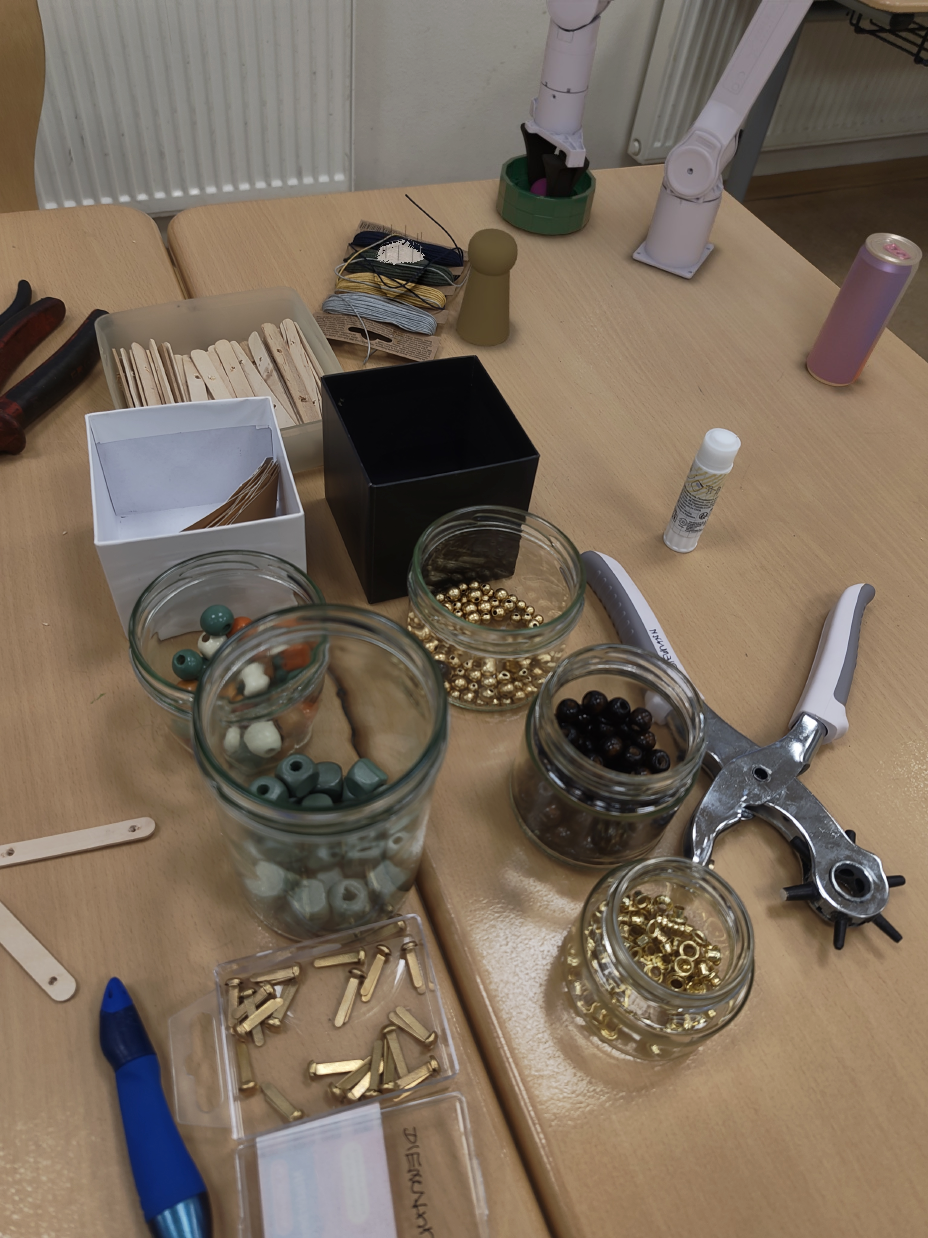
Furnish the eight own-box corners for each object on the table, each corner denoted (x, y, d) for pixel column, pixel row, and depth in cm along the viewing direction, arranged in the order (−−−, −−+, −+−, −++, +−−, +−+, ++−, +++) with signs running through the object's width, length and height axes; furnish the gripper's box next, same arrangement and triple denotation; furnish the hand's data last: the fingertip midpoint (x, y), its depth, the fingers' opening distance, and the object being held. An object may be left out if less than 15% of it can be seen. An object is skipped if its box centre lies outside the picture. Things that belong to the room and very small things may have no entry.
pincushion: (416, 307, 98) (419, 260, 94) (363, 298, 98) (363, 251, 94) (433, 253, 105) (437, 207, 101) (384, 245, 106) (385, 199, 101)
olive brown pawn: (504, 350, 95) (518, 255, 86) (450, 339, 95) (459, 244, 86) (513, 320, 98) (528, 226, 90) (461, 309, 99) (471, 215, 90)
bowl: (521, 182, 119) (527, 144, 115) (602, 210, 116) (610, 172, 112) (480, 217, 112) (484, 177, 108) (564, 248, 109) (572, 209, 105)
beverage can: (828, 393, 96) (894, 267, 84) (793, 362, 99) (852, 236, 87) (867, 381, 98) (937, 257, 86) (831, 351, 101) (894, 227, 89)
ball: (534, 199, 115) (540, 168, 112) (561, 209, 114) (567, 179, 111) (521, 210, 113) (526, 180, 110) (548, 221, 112) (554, 190, 109)
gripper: (513, 58, 105) (499, 172, 116) (553, 110, 97) (534, 228, 107) (567, 57, 107) (548, 170, 117) (611, 109, 98) (586, 225, 109)
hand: (545, 197), depth 112 cm, fingers open, 6 cm apart
